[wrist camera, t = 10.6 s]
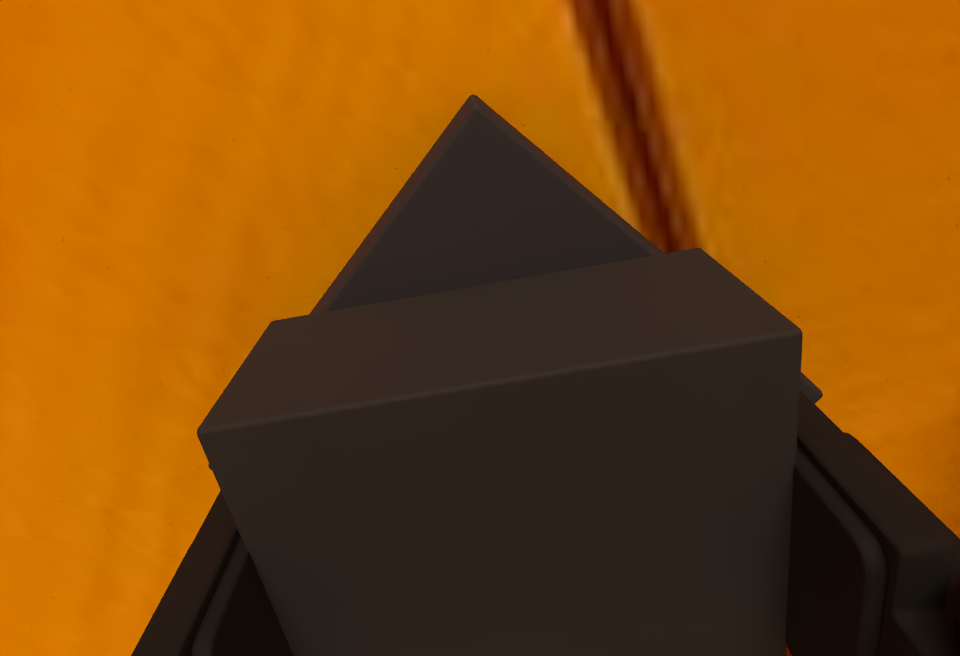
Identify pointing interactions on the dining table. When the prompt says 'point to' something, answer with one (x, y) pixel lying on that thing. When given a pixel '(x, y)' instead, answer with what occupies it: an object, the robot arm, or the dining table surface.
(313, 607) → the pad
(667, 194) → the dining table surface
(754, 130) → the dining table surface
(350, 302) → the base pad
